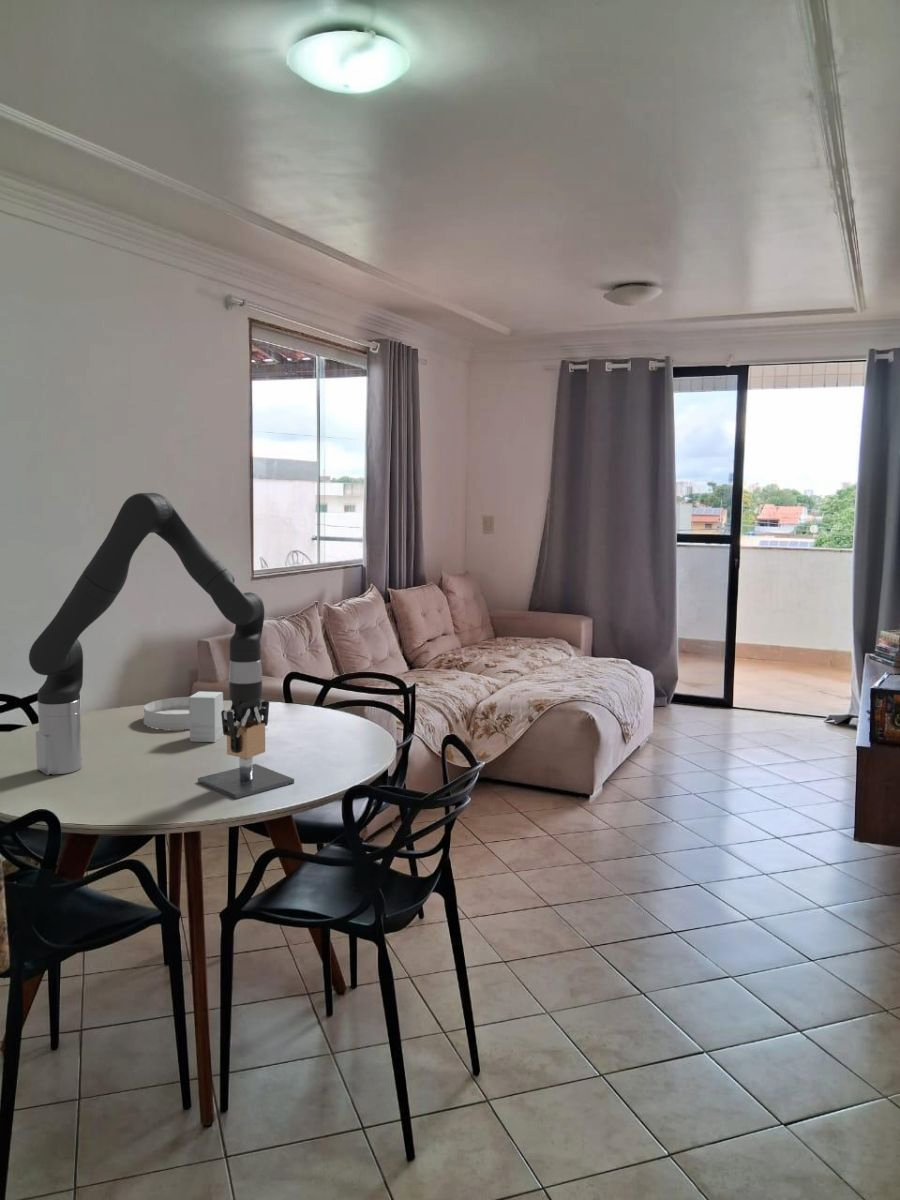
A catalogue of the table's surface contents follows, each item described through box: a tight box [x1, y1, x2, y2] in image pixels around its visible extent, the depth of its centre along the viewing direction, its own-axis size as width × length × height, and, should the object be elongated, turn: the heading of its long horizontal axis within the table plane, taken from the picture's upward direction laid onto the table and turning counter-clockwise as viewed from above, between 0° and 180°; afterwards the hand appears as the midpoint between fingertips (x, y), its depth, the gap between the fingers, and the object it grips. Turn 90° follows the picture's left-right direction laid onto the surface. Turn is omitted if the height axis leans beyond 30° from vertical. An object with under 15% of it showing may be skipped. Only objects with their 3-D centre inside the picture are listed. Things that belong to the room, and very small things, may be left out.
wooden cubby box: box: [226, 721, 266, 759], centre depth 203 cm, size 6×6×7 cm
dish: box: [143, 696, 190, 731], centre depth 259 cm, size 22×22×5 cm
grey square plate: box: [197, 757, 295, 800], centre depth 204 cm, size 16×16×8 cm
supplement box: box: [188, 690, 225, 743], centre depth 240 cm, size 7×7×13 cm
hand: (246, 748), depth 204 cm, fingers closed on wooden cubby box, 6 cm apart
